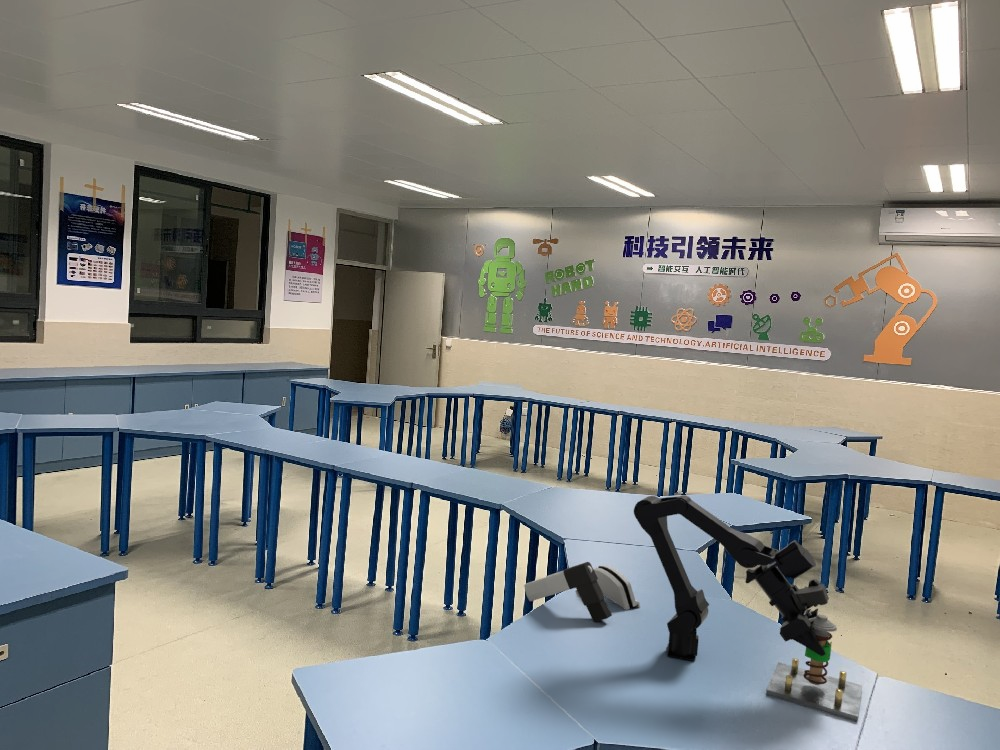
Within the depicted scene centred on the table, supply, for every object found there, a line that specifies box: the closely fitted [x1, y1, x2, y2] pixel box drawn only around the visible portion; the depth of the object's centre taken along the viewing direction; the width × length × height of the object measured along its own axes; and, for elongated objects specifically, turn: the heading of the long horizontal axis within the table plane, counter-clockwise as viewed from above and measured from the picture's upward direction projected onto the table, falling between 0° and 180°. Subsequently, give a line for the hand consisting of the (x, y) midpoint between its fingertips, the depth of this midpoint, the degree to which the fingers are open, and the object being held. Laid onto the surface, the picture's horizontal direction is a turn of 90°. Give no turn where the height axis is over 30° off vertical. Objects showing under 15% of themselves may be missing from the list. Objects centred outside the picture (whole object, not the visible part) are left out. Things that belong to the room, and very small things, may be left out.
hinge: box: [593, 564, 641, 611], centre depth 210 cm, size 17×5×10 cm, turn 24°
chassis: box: [765, 657, 863, 723], centre depth 162 cm, size 18×16×4 cm
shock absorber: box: [803, 614, 838, 685], centre depth 161 cm, size 6×6×15 cm
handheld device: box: [523, 561, 613, 623], centre depth 199 cm, size 4×22×15 cm, turn 56°
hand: (825, 650), depth 161 cm, fingers closed on shock absorber, 5 cm apart
